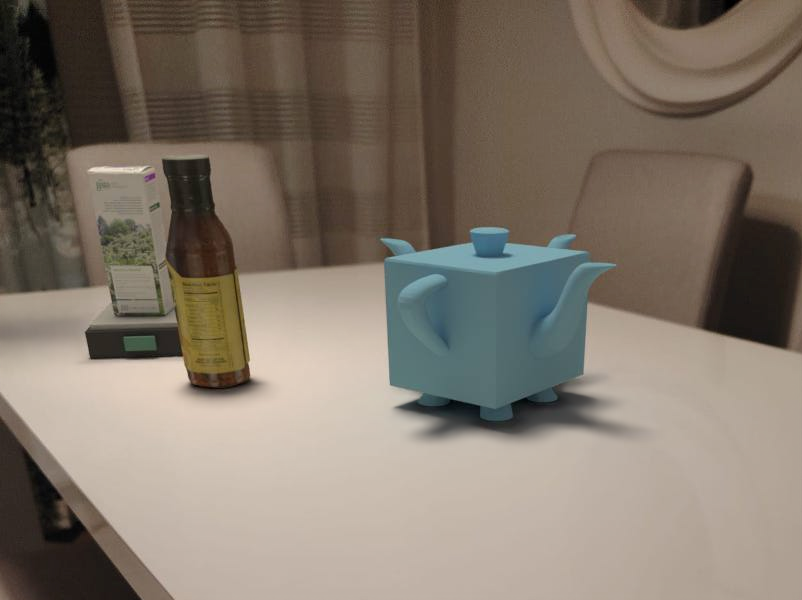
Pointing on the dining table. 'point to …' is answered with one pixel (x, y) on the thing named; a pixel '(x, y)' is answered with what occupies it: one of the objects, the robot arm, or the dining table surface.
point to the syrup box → (132, 239)
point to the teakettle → (487, 319)
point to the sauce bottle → (204, 278)
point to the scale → (133, 335)
